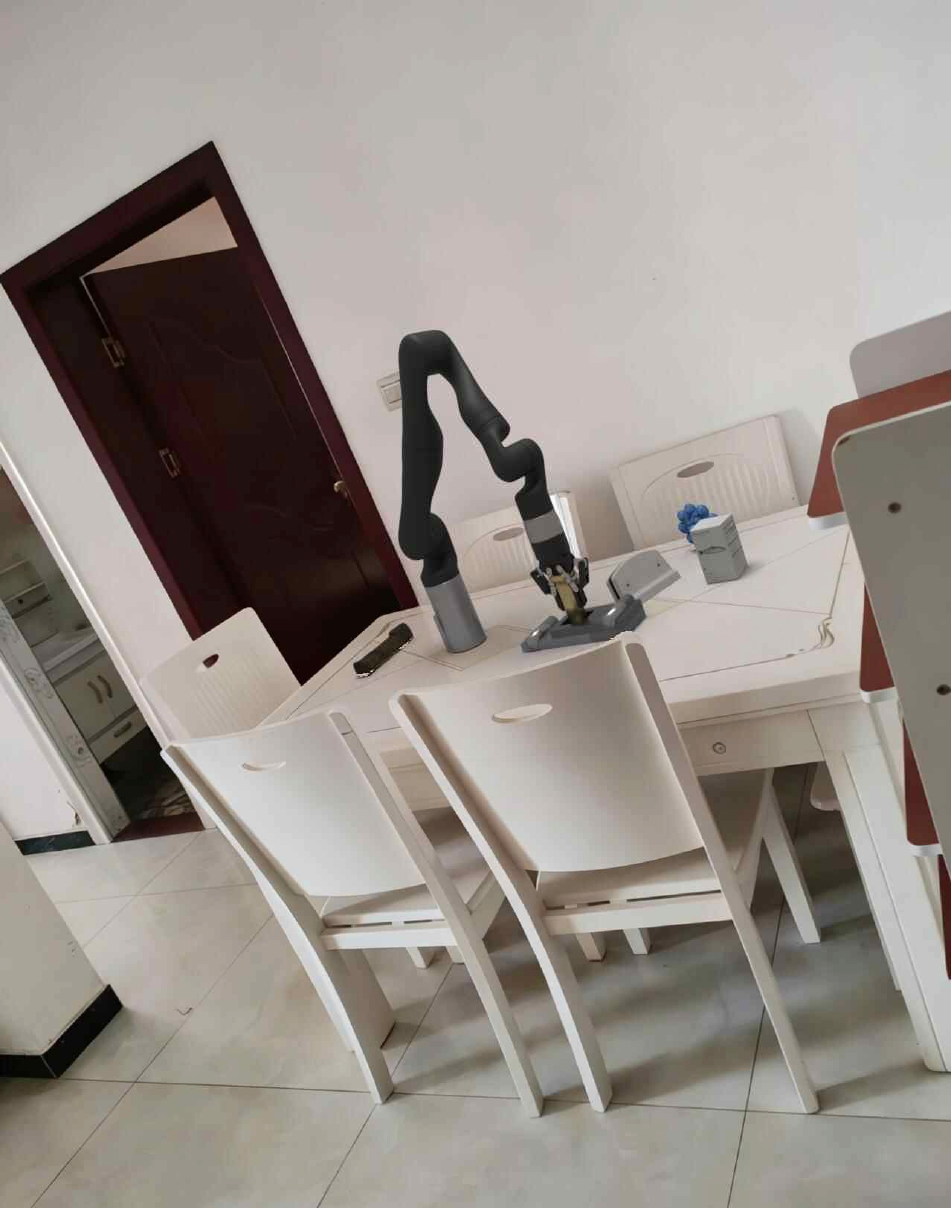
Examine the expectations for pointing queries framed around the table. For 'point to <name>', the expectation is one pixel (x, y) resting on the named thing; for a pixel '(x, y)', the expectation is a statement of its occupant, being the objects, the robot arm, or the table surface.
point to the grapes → (692, 518)
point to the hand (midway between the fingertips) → (574, 607)
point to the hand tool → (384, 649)
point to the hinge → (641, 576)
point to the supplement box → (719, 548)
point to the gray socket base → (587, 625)
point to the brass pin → (569, 599)
